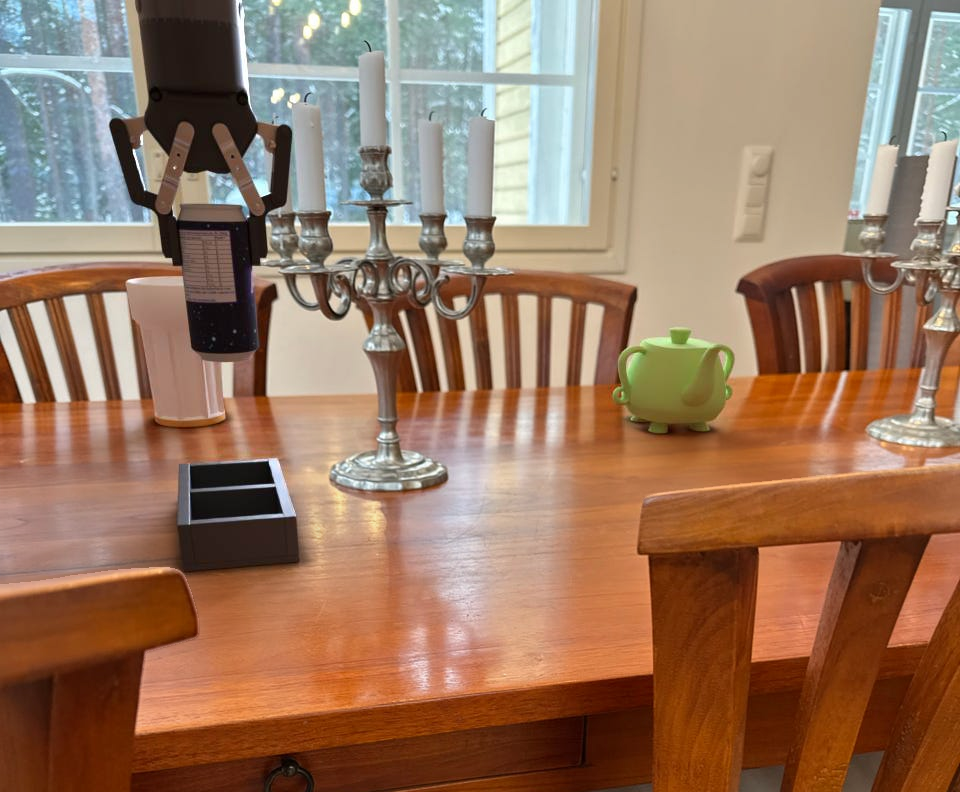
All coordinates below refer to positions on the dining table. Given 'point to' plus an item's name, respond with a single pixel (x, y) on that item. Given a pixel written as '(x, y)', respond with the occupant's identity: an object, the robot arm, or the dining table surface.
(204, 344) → the beverage can
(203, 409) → the cup
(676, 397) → the teapot
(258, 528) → the holder
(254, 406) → the dining table surface
